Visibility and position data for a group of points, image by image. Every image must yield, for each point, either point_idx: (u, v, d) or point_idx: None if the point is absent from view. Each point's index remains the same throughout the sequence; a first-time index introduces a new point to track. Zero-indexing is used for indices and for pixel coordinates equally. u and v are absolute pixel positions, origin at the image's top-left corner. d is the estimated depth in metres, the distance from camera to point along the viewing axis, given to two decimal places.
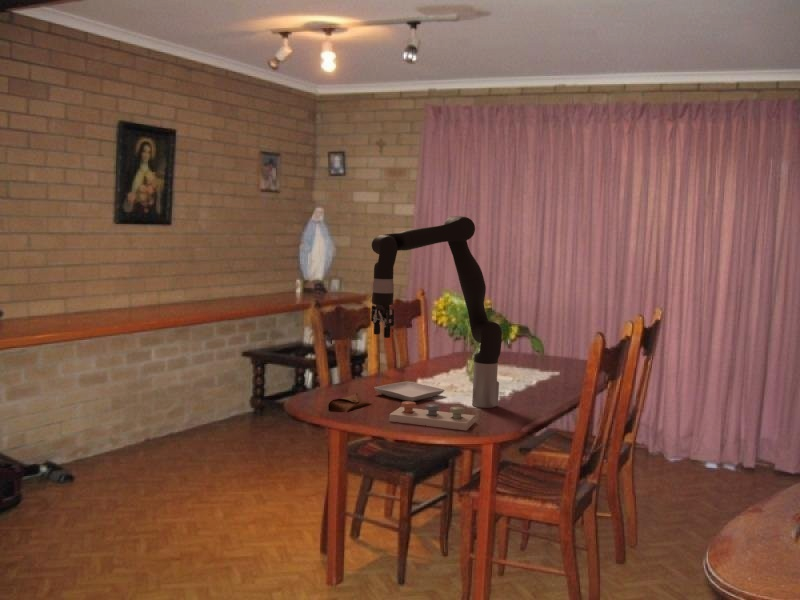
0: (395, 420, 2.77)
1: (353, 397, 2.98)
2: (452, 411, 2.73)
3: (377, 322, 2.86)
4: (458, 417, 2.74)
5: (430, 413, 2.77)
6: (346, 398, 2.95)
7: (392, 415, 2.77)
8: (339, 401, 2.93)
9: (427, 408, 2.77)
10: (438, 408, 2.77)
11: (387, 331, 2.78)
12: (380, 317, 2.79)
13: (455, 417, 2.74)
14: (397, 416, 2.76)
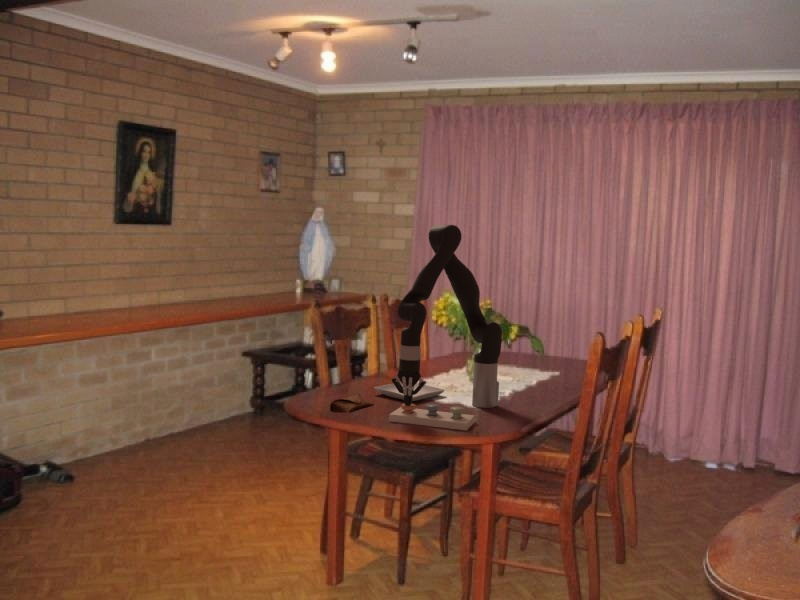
0: (395, 420, 2.77)
1: (356, 398, 2.97)
2: (452, 411, 2.73)
3: None
4: (458, 417, 2.74)
5: (430, 413, 2.77)
6: (348, 398, 2.94)
7: (392, 415, 2.77)
8: (341, 401, 2.92)
9: (427, 408, 2.77)
10: (438, 408, 2.77)
11: (411, 399, 2.80)
12: (408, 384, 2.78)
13: (455, 417, 2.74)
14: (397, 416, 2.76)
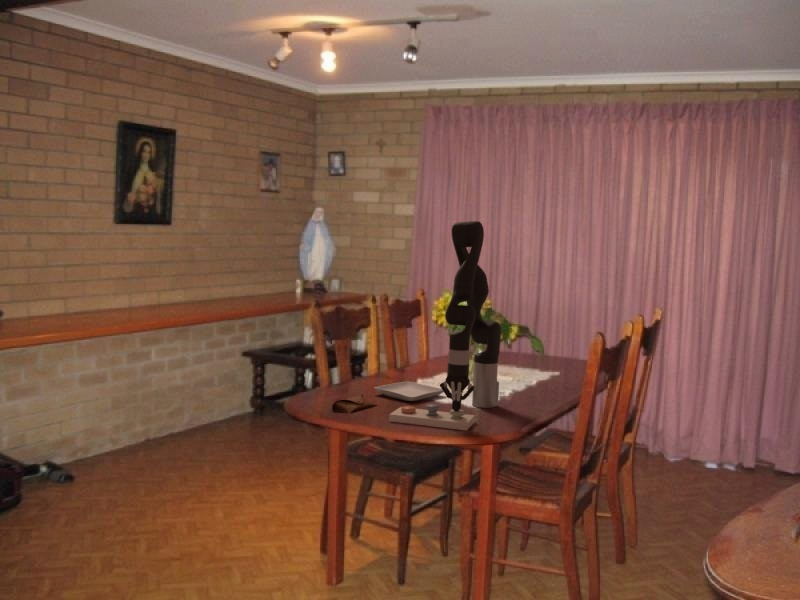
0: (395, 420, 2.77)
1: (358, 398, 2.96)
2: (452, 413, 2.74)
3: (456, 398, 2.75)
4: None
5: (430, 413, 2.77)
6: (350, 399, 2.94)
7: (392, 415, 2.77)
8: (343, 402, 2.91)
9: (427, 408, 2.77)
10: (438, 408, 2.77)
11: (460, 404, 2.74)
12: (457, 389, 2.73)
13: None
14: (397, 416, 2.76)
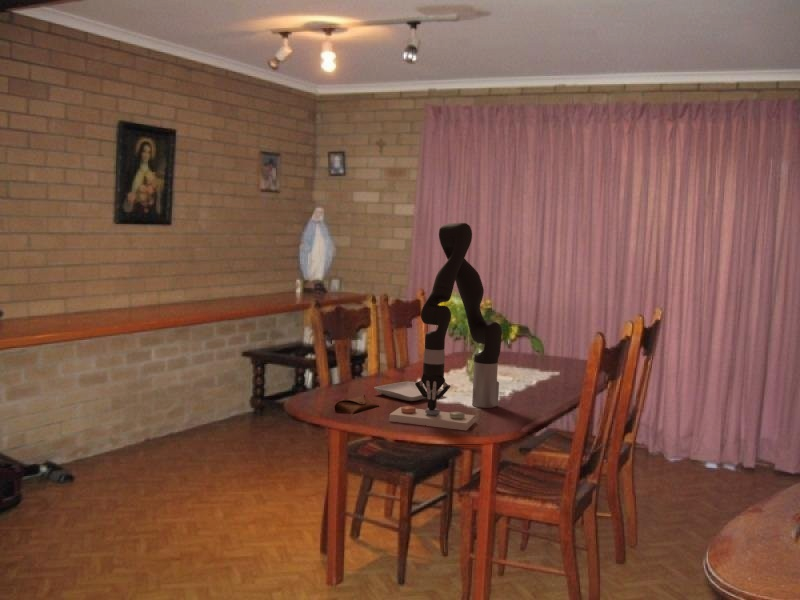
0: (395, 420, 2.77)
1: (360, 399, 2.96)
2: (452, 416, 2.74)
3: (431, 397, 2.78)
4: None
5: None
6: (353, 400, 2.93)
7: (392, 415, 2.77)
8: (345, 402, 2.91)
9: (427, 412, 2.77)
10: (438, 412, 2.77)
11: (435, 403, 2.77)
12: (432, 388, 2.76)
13: None
14: (397, 416, 2.76)
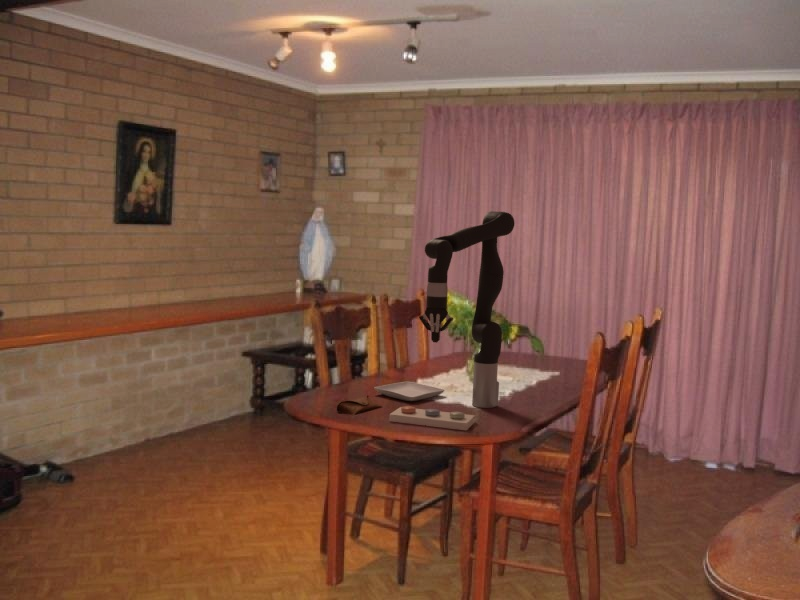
0: (395, 420, 2.77)
1: (363, 400, 2.95)
2: (452, 416, 2.74)
3: None
4: None
5: None
6: (355, 400, 2.92)
7: (392, 415, 2.77)
8: (348, 403, 2.90)
9: (427, 413, 2.77)
10: (438, 413, 2.77)
11: (438, 336, 2.85)
12: (436, 320, 2.84)
13: None
14: (397, 416, 2.76)
